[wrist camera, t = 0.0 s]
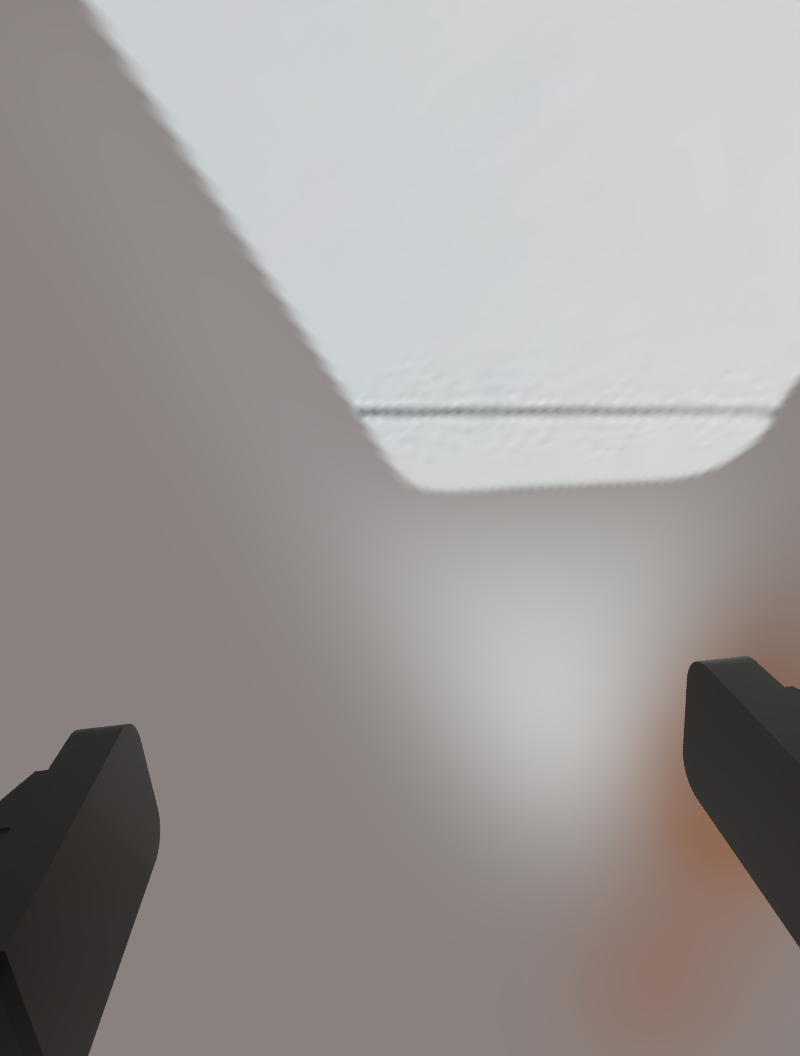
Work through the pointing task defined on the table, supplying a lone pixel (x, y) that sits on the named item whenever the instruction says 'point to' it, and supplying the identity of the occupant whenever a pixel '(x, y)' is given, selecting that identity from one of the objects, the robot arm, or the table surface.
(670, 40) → the table surface
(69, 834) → the robot arm
